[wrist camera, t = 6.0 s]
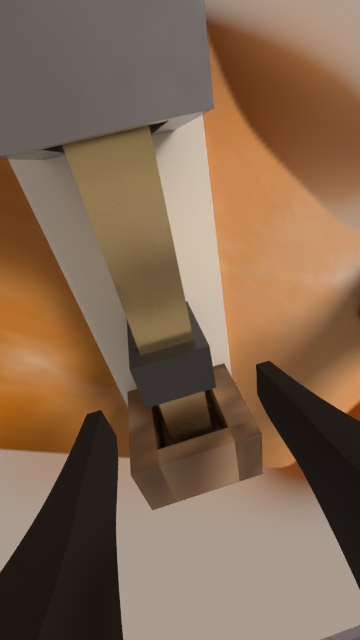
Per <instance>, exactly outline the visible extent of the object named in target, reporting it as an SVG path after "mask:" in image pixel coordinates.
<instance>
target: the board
mask: <svg viewBox="0 0 360 640" xmlns="http://www.w3.org/2000/svg"><path fill="white" fill-rule="evenodd" d="M151 137H152V141H153V146H154V151H155V156H156V161H157V166H158V170H159V175H160V180H161V185H162V190H163V195H164V199H165V204H166V209H167V214H168V219H169V223H170V228H171V233H172V238H173V243H174V248H175V252H176V257H177V262H178V267H179V272H180V277H181V281H182V286H183V291H184V296H185V301H187V302H188V304H189V306H190V308H191V310H192V312H193V314H194V316H195V318H196V320H197V322H198V324H199V326H200V328H201V330H202V332H203V334H204V336H205V338H206V340H207V342H208V344H209V346H210V352H211V358H212V364H213V366H216V365H219V364H223V363H224V364H225V365H226V367H227V369H228V371H229V373H230V375H231V377H232V374H231V365H230V356H229V347H228V338H227V329H226V320H225V311H224V302H223V293H222V284H221V275H220V266H219V257H218V249H217V240H216V231H215V222H214V213H213V204H212V195H211V186H210V177H209V168H208V159H207V150H206V141H205V132H204V123H203V115H201V116H199V117H198V118H196V119H194V120H192V121H190V122H189V123H187V124H185V125H183V126H181V127H179V128H178V129H176V130H173V131H168V132H164V133H159V134H155V135H151ZM8 161H9V163H10V165H11V167H12V169H13V171H14V173H15V175H16V177H17V179H18V181H19V183H20V185H21V187H22V190H23V192H24V194H25V196H26V198H27V200H28V202H29V204H30V206H31V208H32V210H33V212H34V214H35V216H36V219H37V221H38V223H39V225H40V227H41V229H42V231H43V233H44V235H45V237H46V239H47V241H48V243H49V245H50V247H51V250H52V252H53V254H54V256H55V258H56V260H57V262H58V264H59V266H60V268H61V270H62V272H63V274H64V276H65V278H66V281H67V283H68V285H69V287H70V289H71V291H72V293H73V295H74V297H75V299H76V301H77V303H78V305H79V307H80V310H81V312H82V314H83V316H84V318H85V320H86V322H87V324H88V326H89V328H90V330H91V332H92V334H93V336H94V338H95V341H96V343H97V345H98V347H99V349H100V351H101V353H102V355H103V357H104V359H105V361H106V363H107V365H108V367H109V369H110V372H111V374H112V376H113V378H114V380H115V382H116V384H117V386H118V388H119V390H120V392H121V394H122V396H123V398H124V401H125V403H126V405H127V407H128V395H127V392H128V391H131V390H135V389H137V386H136V384H135V381H134V379H133V377H132V374H131V372H130V370H129V353H128V335H127V318H126V315H125V313H124V310H123V307H122V305H121V302H120V299H119V296H118V294H117V291H116V288H115V286H114V283H113V280H112V278H111V275H110V272H109V270H108V267H107V264H106V262H105V259H104V256H103V254H102V251H101V248H100V245H99V243H98V240H97V237H96V235H95V232H94V229H93V227H92V224H91V221H90V219H89V216H88V213H87V211H86V208H85V205H84V203H83V200H82V197H81V195H80V192H79V189H78V186H77V184H76V181H75V178H74V176H73V173H72V170H71V168H70V165H69V162H68V160H67V157H66V155H63V156H58V157H54V158H50V159H45V160H16V159H8Z"/></svg>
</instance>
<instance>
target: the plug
mask: <svg viewBox="0 0 360 640" xmlns="http://www.w3.org/2000/svg"><path fill="white" fill-rule="evenodd" d="M62 146H63V149H64V152H65V154H66V157H67V160H68V162H69V165H70V168H71V170H72V173H73V176H74V178H75V181H76V184H77V186H78V189H79V192H80V195H81V197H82V200H83V203H84V205H85V208H86V211H87V213H88V216H89V219H90V221H91V224H92V227H93V229H94V232H95V235H96V237H97V240H98V243H99V245H100V248H101V251H102V254H103V256H104V259H105V262H106V264H107V267H108V270H109V272H110V275H111V278H112V280H113V283H114V286H115V288H116V291H117V294H118V296H119V299H120V302H121V305H122V307H123V310H124V313H125V315H126V318H127V335H128V353H129V370H130V372H131V374H132V377H133V379H134V381H135V384H136V386H137V389H138V391H139V393H140V396H141V398H142V400H143V403H144V405H145V407H146V409H147V408H150V407H153V406H156V405H159V406H160V409H161V412H162V415H163V417H164V420H165V423H166V425H167V428H168V431H169V433H170V436H171V439H172V441H173V445H174V444H178V443H181V442H184V441H187V440H190V439H193V438H197V437H200V436H203V435H206V434H209V433H212V432H213V430H212V426H211V421H210V416H209V412H208V407H207V402H206V397H205V392H204V391H206V390H209V389H213V388H216V382H215V376H214V370H213V364H212V358H211V352H210V346H209V344H208V342H207V340H206V338H205V336H204V334H203V332H202V330H201V328H200V326H199V324H198V322H197V320H196V318H195V316H194V314H193V312H192V310H191V308H190V306H189V304H188V302H187V301H185V296H184V291H183V286H182V281H181V277H180V272H179V267H178V262H177V257H176V252H175V248H174V243H173V238H172V233H171V228H170V223H169V219H168V214H167V209H166V204H165V199H164V195H163V190H162V185H161V180H160V175H159V170H158V166H157V161H156V156H155V151H154V146H153V141H152V137H151V132H150V127H149V125H148V126H143V127H139V128H134V129H130V130H125V131H121V132H117V133H112V134H108V135H103V136H99V137H94V138H90V139H85V140H81V141H76V142H72V143H68V144H63V145H62Z"/></svg>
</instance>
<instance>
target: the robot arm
mask: <svg viewBox="0 0 360 640" xmlns="http://www.w3.org/2000/svg"><path fill="white" fill-rule="evenodd" d="M256 371H257V394H258V397H259V399H260V401H261V403H262V405H263V407H264V409H265V411H266V413H267V415H268V417H269V418H270V420H271V421H272V423H273V425H274V426H275V428H276V429H277V431H278V433H279V434H280V436H281V437H282V439H283V440H284V442H285V444H286V445H287V447H288V448H289V450H290V451H291V453H292V455H293V456H294V458H295V459H296V461H297V463H298V464H299V466H300V468H301V469H302V471H303V473H304V475H305V477H306V479H307V481H308V483H309V484H310V487H311V488H312V490H313V492H314V494H315V496H316V498H317V500H318V502H319V504H320V506H321V508H322V510H323V512H324V514H325V516H326V518H327V520H328V522H329V524H330V527H331V528H332V531H333V533H334V535H335V537H336V539H337V541H338V543H339V545H340V547H341V549H342V551H343V554H344V556H345V558H346V560H347V563H348V565H349V567H350V569H351V571H352V573H353V575H354V578H355V580H356V582H357V584H358V587H359V589H360V421H358V420H357V419H355V418H353V417H351V416H349V415H348V414H346V413H344V412H342V411H341V410H339V409H337V408H336V407H334V406H333V405H331V404H329V403H328V402H326V401H325V400H323V399H321V398H320V397H318V396H317V395H315V394H314V393H312V392H311V391H310V390H308V389H307V388H305V387H304V386H302V385H301V384H299V383H298V382H297V381H295V380H294V379H293V378H291V377H290V376H289V375H287V374H286V373H285V372H283V371H282V370H281V369H279V368H278V367H277V366H275V365H274V364H273V363H272V362H270V361H267V362H263V363H260V364H257V365H256ZM117 481H118V449H117V437H116V435H115V433H114V432H113V430H112V428H111V426H110V425H109V423H108V421H107V420H106V418H105V416H104V414H103V413H102V411H101V410H100V411H97V412H93V413H90V414H87V416H86V417H85V420H84V422H83V425H82V427H81V429H80V432H79V434H78V436H77V438H76V441H75V443H74V445H73V447H72V450H71V452H70V454H69V456H68V458H67V461H66V463H65V465H64V467H63V469H62V471H61V473H60V475H59V477H58V478H57V481H56V482H55V484H54V486H53V488H52V490H51V492H50V494H49V496H48V498H47V499H46V501H45V503H44V505H43V506H42V508H41V510H40V512H39V513H38V515H37V517H36V519H35V520H34V522H33V523H32V525H31V527H30V529H29V530H28V532H27V533H26V535H25V536H24V538H23V539H22V541H21V542H20V544H19V545H18V547H17V549H16V550H15V552H14V553H13V555H12V556H11V558H10V559H9V561H8V562H7V564H6V565H5V566H4V568H3V569H2V571H1V572H0V640H123V634H122V623H121V610H120V597H119V583H118V566H117V546H116V504H117ZM321 640H360V625H359V626H356V627H354V628H351V629H348V630H345V631H343V632H340V633H337V634H335V635H332V636H329V637H327V638H324V639H321Z"/></svg>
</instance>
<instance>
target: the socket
mask: <svg viewBox="0 0 360 640" xmlns="http://www.w3.org/2000/svg"><path fill="white" fill-rule="evenodd" d="M213 370H214V376H215V382H216V388H213V389H209V390H206V391H204V392H205V397H206V402H207V407H208V412H209V416H210V421H211V426H212V430H213V432H212V433H209V434H206V435H203V436H200V437H197V438H193V439H190V440H187V441H184V442H181V443H178V444H174V445H173V441H172V439H171V436H170V433H169V431H168V428H167V425H166V423H165V420H164V417H163V415H162V412H161V409H160V406H159V405H156V406H153V407H150V408H147V409H146V407H145V405H144V403H143V400H142V398H141V396H140V393H139V391H138V389H135V390H131V391H128V392H127V395H128V418H129V442H130V463H131V476H132V478H133V479H134V481H135V483H136V484H137V486H138V487H139V489H140V491H141V492H142V494H143V495H144V497H145V498H146V500H147V502H148V504H149V505H150V507H151V509H152V510H154V509H158V508H161V507H163V506H166V505H169V504H173V503H176V502H178V501H182V500H185V499H188V498H191V497H194V496H197V495H200V494H203V493H206V492H209V491H212V490H215V489H218V488H221V487H224V486H227V485H230V484H233V483H236V482H239V481H242V480H245V479H248V478H251V477H254V476H257V475H260V474H262V433H261V432H260V430H259V428H258V426H257V424H256V422H255V420H254V418H253V416H252V415H251V413H250V411H249V409H248V407H247V405H246V403H245V401H244V399H243V398H242V396H241V394H240V392H239V390H238V388H237V386H236V384H235V382H234V381H233V379H232V377H231V375H230V373H229V371H228V369H227V367H226V365H225V364H224V363H223V364H219V365H216V366H213Z"/></svg>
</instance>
